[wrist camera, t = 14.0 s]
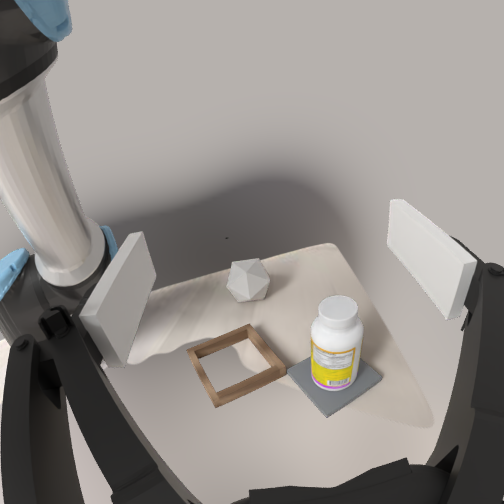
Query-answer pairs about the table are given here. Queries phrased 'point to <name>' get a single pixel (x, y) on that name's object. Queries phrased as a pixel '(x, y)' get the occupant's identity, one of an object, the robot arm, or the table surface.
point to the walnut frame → (247, 385)
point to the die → (248, 280)
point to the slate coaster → (333, 399)
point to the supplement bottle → (336, 343)
